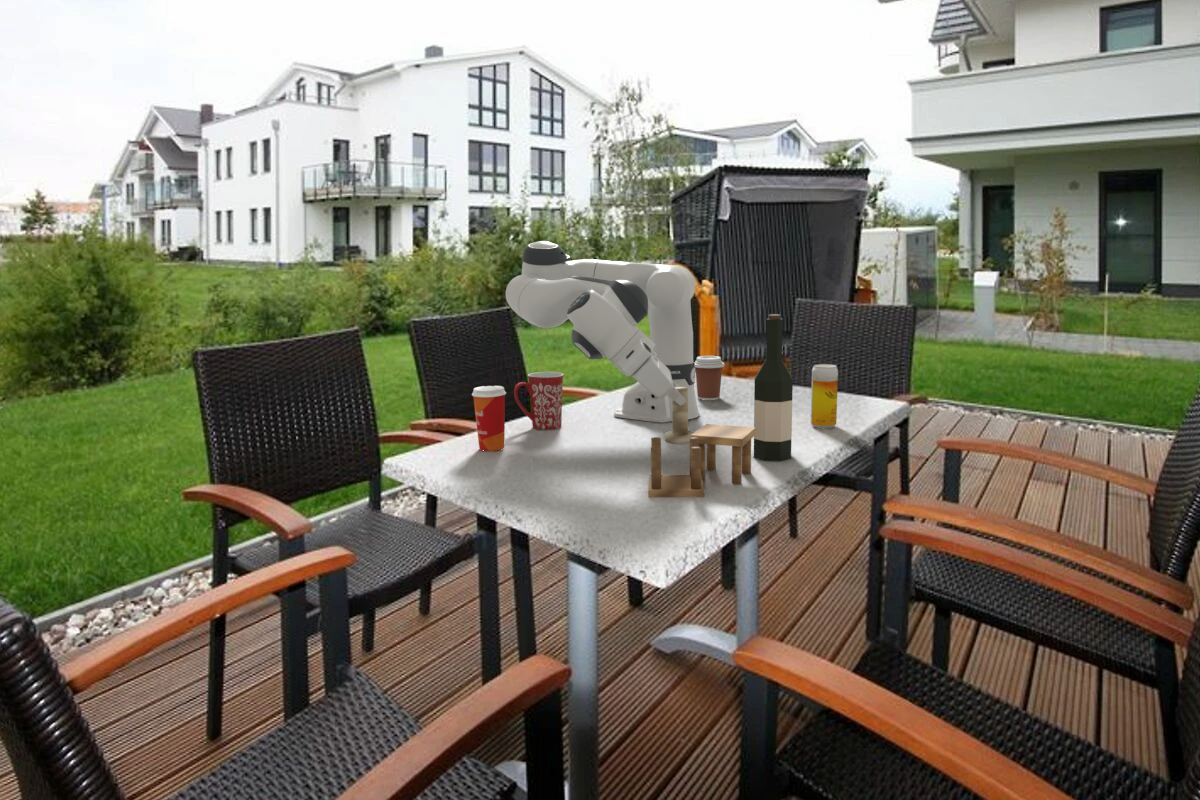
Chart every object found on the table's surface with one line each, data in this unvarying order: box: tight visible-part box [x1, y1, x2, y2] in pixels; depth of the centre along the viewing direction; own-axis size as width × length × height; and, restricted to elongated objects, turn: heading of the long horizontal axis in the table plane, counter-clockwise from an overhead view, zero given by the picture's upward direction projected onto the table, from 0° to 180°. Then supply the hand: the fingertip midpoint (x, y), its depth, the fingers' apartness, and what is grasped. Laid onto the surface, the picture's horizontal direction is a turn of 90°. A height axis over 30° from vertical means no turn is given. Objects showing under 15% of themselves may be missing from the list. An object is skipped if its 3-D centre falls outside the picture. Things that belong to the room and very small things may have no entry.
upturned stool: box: [647, 437, 705, 498], centre depth 150 cm, size 10×10×9 cm
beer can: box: [810, 363, 839, 429], centre depth 196 cm, size 6×6×15 cm
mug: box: [513, 371, 564, 431], centre depth 203 cm, size 13×9×14 cm
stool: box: [691, 423, 756, 485], centre depth 158 cm, size 10×10×9 cm
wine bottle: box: [753, 313, 794, 462], centre depth 169 cm, size 8×8×30 cm
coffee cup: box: [693, 355, 725, 401], centre depth 235 cm, size 9×9×12 cm
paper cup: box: [471, 385, 507, 452], centre depth 182 cm, size 8×8×14 cm
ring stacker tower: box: [664, 387, 695, 445], centre depth 167 cm, size 7×7×11 cm
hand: (683, 400), depth 166 cm, fingers closed on ring stacker tower, 3 cm apart
